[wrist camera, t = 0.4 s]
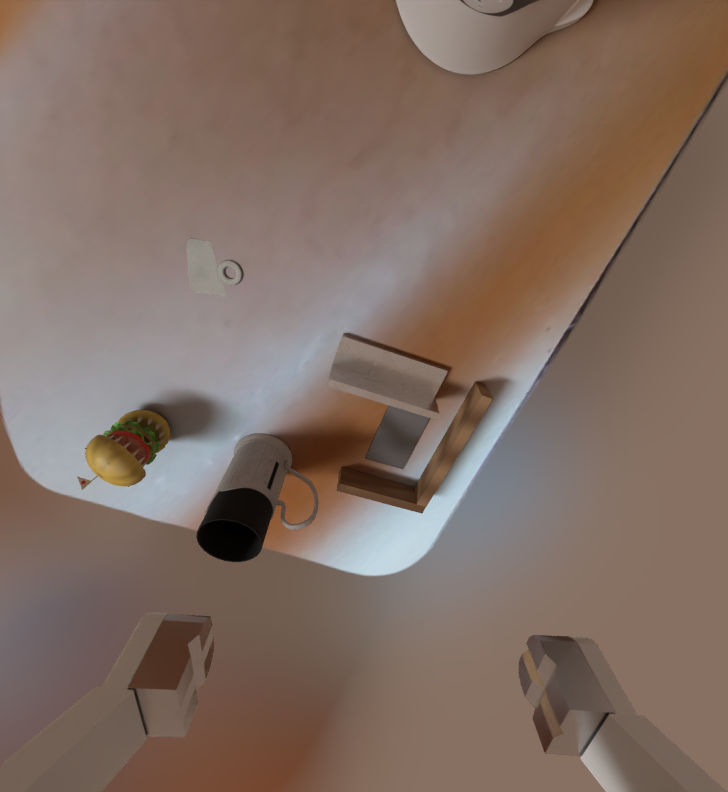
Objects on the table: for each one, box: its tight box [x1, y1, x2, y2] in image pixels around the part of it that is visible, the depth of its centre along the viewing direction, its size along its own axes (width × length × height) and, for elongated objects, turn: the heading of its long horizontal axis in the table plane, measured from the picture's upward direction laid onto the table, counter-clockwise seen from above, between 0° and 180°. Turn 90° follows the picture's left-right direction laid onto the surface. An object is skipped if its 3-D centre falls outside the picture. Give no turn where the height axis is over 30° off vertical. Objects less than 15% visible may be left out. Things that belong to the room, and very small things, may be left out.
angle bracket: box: [327, 334, 448, 420], centre depth 45 cm, size 14×5×5 cm, turn 71°
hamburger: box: [78, 410, 170, 490], centre depth 47 cm, size 8×7×12 cm
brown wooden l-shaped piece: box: [337, 382, 493, 513], centre depth 51 cm, size 22×14×4 cm, turn 161°
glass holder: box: [197, 434, 318, 562], centre depth 48 cm, size 9×14×15 cm, turn 98°
